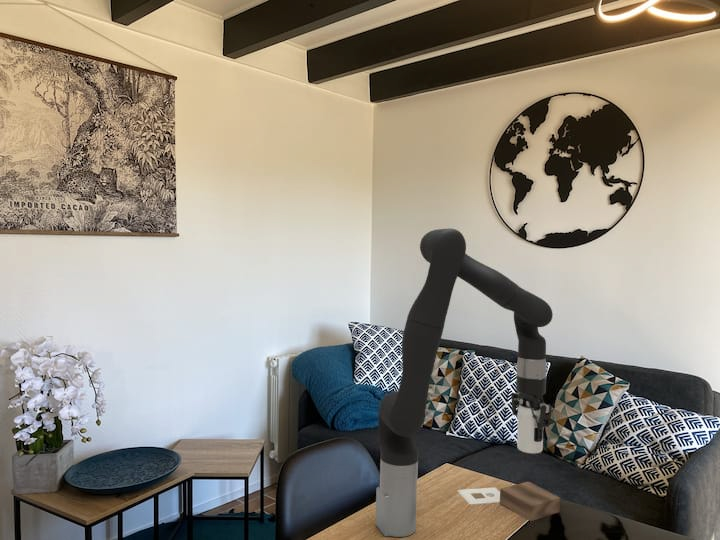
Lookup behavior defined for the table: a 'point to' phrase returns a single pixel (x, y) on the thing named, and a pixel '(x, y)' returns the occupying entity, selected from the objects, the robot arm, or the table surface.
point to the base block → (529, 500)
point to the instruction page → (480, 495)
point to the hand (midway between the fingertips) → (529, 437)
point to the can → (527, 431)
